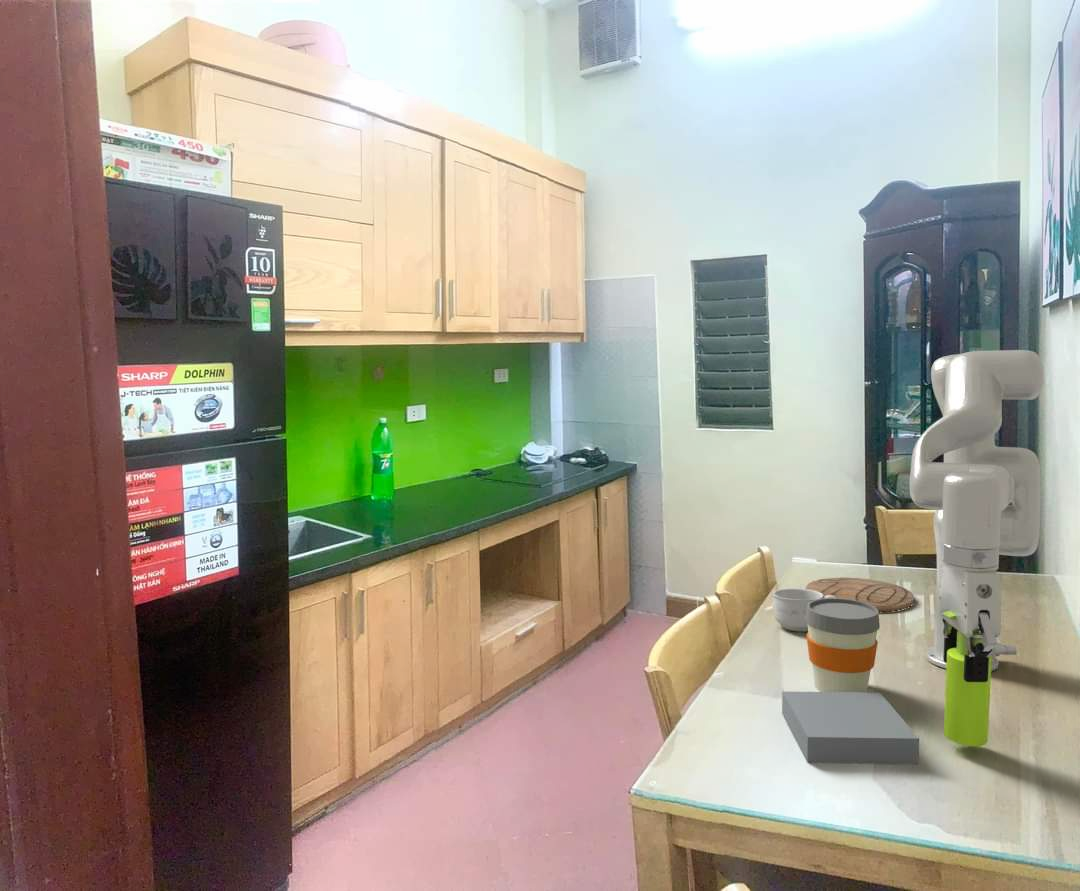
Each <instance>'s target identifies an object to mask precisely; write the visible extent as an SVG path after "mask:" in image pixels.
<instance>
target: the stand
mask: <svg viewBox="0 0 1080 891" xmlns="http://www.w3.org/2000/svg"><path fill="white" fill-rule="evenodd" d="M781 693H782V694H781V695H782V696H781V697H782V698H781V704H782V705H781V715H782V714H783V715H782V716H784V717H783V719H784V718H785V719H784V721H785V720H786V721H785V722H787V723H786V725H787V726H788V728H789V730H790V732H791V734H792V736H793V738H794V739H795V742H796V744H797V745H798V748H799V749H800V751H801V753H802V755H803V757H804V759H805V760H806V763H813V764H816V763H817V764H870V765H871V764H874V765H877V764H878V765H881V764H883V765H919V755H920V754H919V753H920V752H919V750H920V749H919V748H920V738H919V737H918V735H917V734H916V733H915V732H914V731H913V730H912V729H911V727H910V726H909V725H908V724H907V723H906V722H905V720H904V719H903V717H901V716H900V715H899V713H898V712H897V711H896V710H895V709H894V708H893V706H892V705H891V703H889V702H888V700H887V699H886V698H885V696H883V695H882V693H881V692H873V691H872V692H870V691H869V692H868V691H867V692H820V691H782V692H781Z"/></svg>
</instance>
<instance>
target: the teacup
mask: <svg viewBox="0 0 1080 891" xmlns="http://www.w3.org/2000/svg"><path fill="white" fill-rule="evenodd" d="M772 596H773V613H774V619H775V621H776V622H777V623H778V624H779V625H780V626H782V628H783V629H785V630H788V631H793V632H808V624H807V623H806V621H805V618H806V610H807V604H808V603H809V602H810V601H813V600H817V599H823V598H836V597H835V596H832V595H827V596H825V597H824V596H823V594H822V593H820V592H817V591H814V590H808V589H806V588H797V587H795V588H793V587H791V588H782V589H776V590H774V591H772Z"/></svg>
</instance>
